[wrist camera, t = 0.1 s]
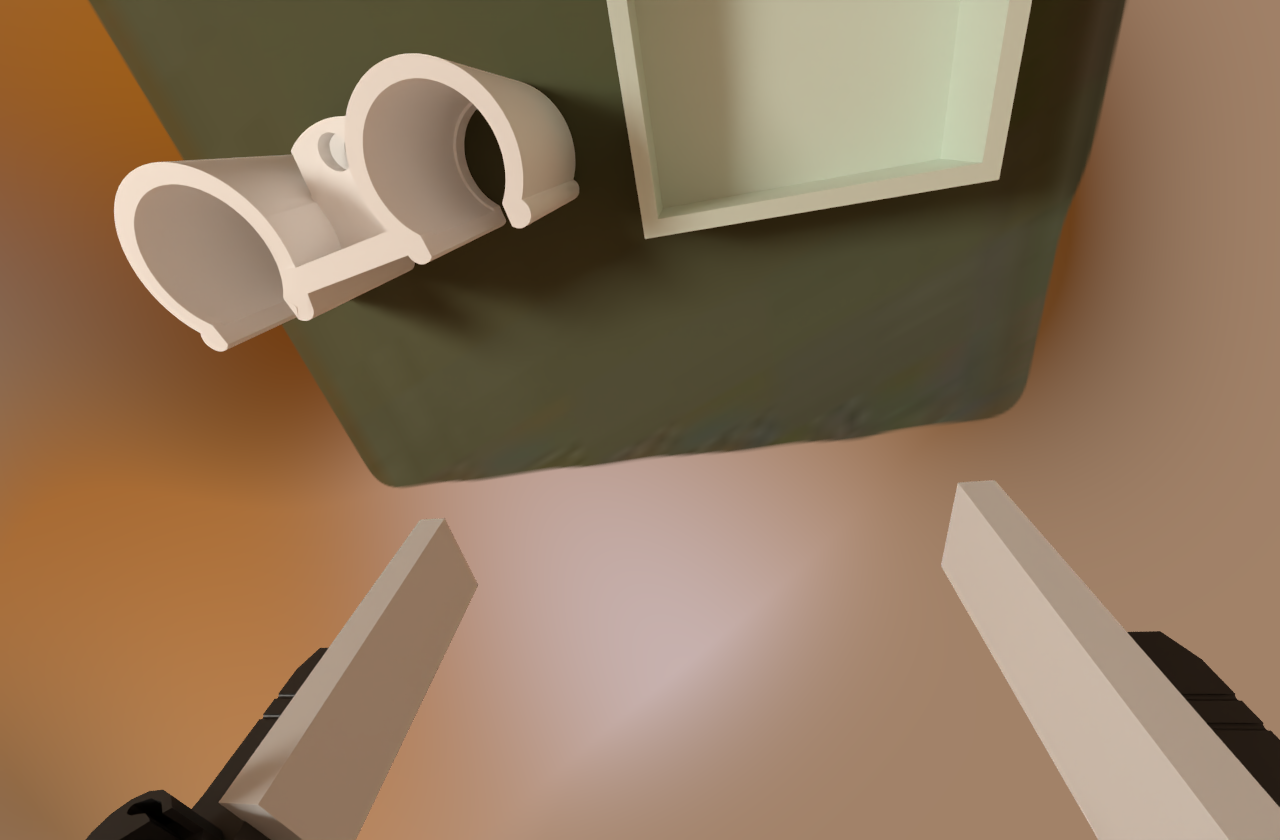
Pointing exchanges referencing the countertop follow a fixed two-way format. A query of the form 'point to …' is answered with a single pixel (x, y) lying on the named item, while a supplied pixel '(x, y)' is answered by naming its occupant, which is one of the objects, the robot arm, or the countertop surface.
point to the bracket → (341, 200)
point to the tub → (810, 102)
